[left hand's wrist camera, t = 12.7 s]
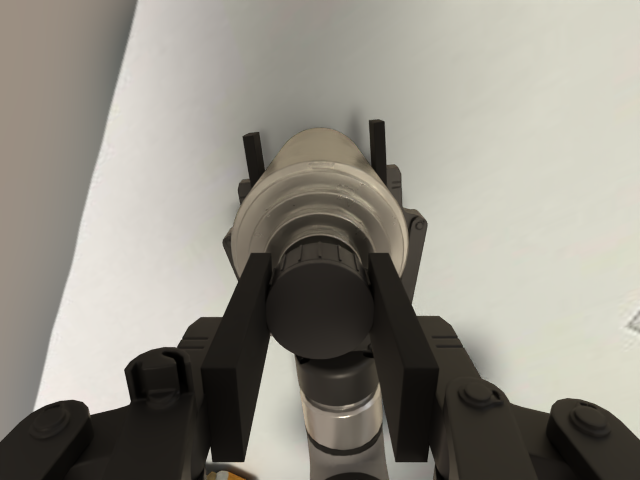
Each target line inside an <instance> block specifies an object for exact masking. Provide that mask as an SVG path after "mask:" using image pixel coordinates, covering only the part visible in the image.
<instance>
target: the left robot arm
mask: <svg viewBox="0 0 640 480" xmlns="http://www.w3.org/2000/svg"><path fill="white" fill-rule="evenodd" d="M271 275H272V257H271V253H251V254H250V256H249V258H248V261H247V263H246V265H245V268H244V270H243V272H242V274H241V277H240V279H239V281H238V284H237V286H236V288H235V290H234V293H233V295H232V297H231V299H230V302H229V304H228V306H227V309H226V311H225V313H224V315H223V317H200V318H199V319H198V320H197V321H195V322H194V323H193V324H191V325H190V326H189V327H188V329H187V330H186V332H185V334H184V336H183V338H182V340H181V341H180V343H179V345H178V346H177V348H176V347H162V348H158V349H153V350H150V351H147V352H145V353H143V354H140V355H139V356H137V357H136V358H135V359H133V360H132V361H130V363H129V364H128V365H127V367H126V368H125V369H124V371H125V376H126V380H127V385H128V390H129V394H130V399H131V403H130V405H127V406H125V407H121V408H118V409H114V410H110V411H106V412H102V413H97V414H93V415H90V413H89V409H88V407H87V406H86V405H85V404H84V403H83V402H80V401H76V400H66V401H59V402H55V403H52V404H49V405H46V406H44V407H42V408H40V409H38V410H36V411H34V412H33V413H31V414H30V415H29V416H27V417H26V418H25V419H23V420H22V421H21V422H20V423H19V424H18V425H17V426H16V427H15V428H14V429H13V430H12V431H11V432H10V433H9V434H8V435H7V436H6V437H5V438H4V439H3V440H2V441H1V442H0V480H207V476H206V469H205V462H206V459H207V456H208V452H209V449H210V447H211V455H212V462H244V460H245V456H246V451H247V446H248V441H249V436H250V431H251V427H252V422H253V417H254V412H255V407H256V402H257V398H258V393H259V388H260V383H261V378H262V373H263V368H264V364H265V359H266V354H267V349H268V344H269V339H270V335H271V332H270V330H269V329H268V326H267V322H266V304H265V303H266V298H267V294H268V290H269V287H270V286H269V283H270V279H271ZM368 276H369V280H370V284H371V286H370V288H371V292H372V296H373V299H374V319H373V325H372V328H371V330H370V332H369V336H370V341H371V345H372V350H373V355H374V360H375V365H376V370H377V374H378V379H379V384H380V389H381V394H382V399H383V404H384V408H385V413H386V418H387V423H388V428H389V433H390V437H391V442H392V447H393V452H394V457H395V462H427V460H428V453H429V445H430V448H431V451H432V454H433V458H434V461H435V469H434V476H433V480H640V440H639V439H638V438H637V437H636V436H635V435H634V434H633V433H632V432H631V431H630V430H629V429H628V428H627V427H626V426H625V425H624V424H623V423H622V422H621V421H620V420H619V419H618V418H616V417H615V416H614V415H613V414H611V413H610V412H609V411H607V410H605V409H603V408H601V407H600V406H598V405H596V404H593V403H590V402H587V401H584V400H581V399H571V398H566V399H561V400H557V401H556V402H555V403H554V404H553V405H552V408H551V411H550V413H545V412H541V411H537V410H532V409H528V408H524V407H520V406H517V405H514V404H512V403H510V402H509V400H508V398H507V397H506V395H505V394H504V392H503V391H501V390H500V389H499V388H498V387H497V386H495V385H494V384H492V383H490V382H488V381H485V380H483V379H482V378H481V377H480V375H479V373H478V371H477V370H476V368H475V366H474V364H473V363H472V361H471V359H470V357H469V356H468V354H467V352H466V350H465V349H464V348H463V345H462V343H461V342H460V340H459V339H458V338H457V335H456V333H455V331H454V329H453V328H452V326H451V325H450V324H449V323H447V322H446V321H445V320H444V319H442V318H441V317H440V316H416V314H415V311H414V309H413V307H412V305H411V302H410V300H409V298H408V296H407V293H406V291H405V289H404V286H403V284H402V282H401V280H400V277H399V275H398V273H397V270H396V268H395V266H394V264H393V261H392V259H391V257H390V255H389V253H368Z"/></svg>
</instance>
